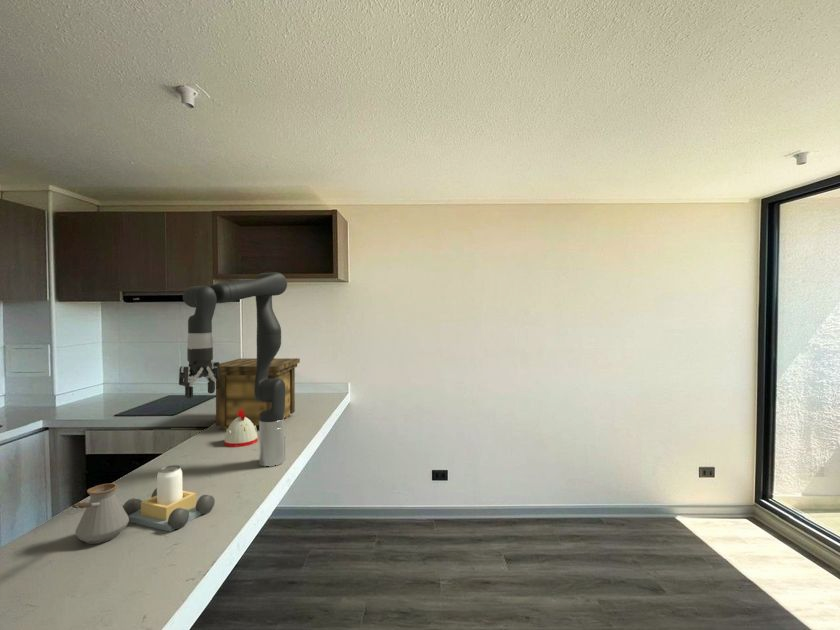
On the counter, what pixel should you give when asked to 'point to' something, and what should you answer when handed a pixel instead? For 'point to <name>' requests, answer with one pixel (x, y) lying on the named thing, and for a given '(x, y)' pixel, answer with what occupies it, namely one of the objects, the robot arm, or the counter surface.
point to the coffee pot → (101, 515)
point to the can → (169, 485)
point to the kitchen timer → (241, 432)
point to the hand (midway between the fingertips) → (200, 395)
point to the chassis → (168, 511)
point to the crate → (250, 389)
